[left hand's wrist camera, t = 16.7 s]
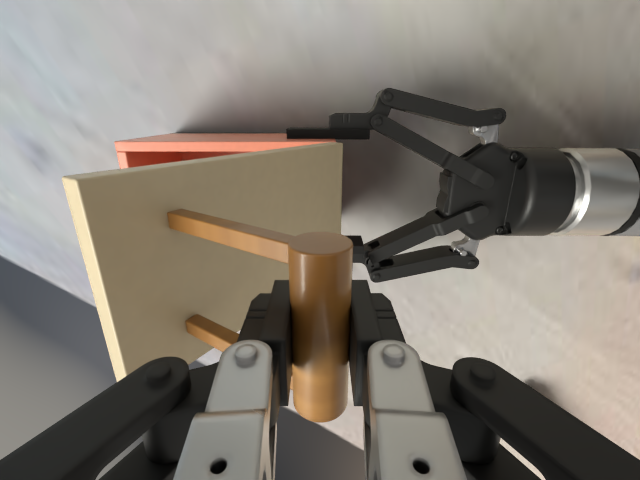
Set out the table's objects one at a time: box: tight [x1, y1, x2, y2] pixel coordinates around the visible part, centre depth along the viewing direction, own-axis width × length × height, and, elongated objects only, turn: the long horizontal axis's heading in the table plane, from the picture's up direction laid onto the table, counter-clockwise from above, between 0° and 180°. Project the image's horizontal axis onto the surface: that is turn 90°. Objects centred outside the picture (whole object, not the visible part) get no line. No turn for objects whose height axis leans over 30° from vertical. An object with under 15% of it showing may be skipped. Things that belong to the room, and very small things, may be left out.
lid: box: [62, 142, 353, 422], centre depth 17 cm, size 16×9×9 cm
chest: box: [115, 133, 336, 169], centre depth 31 cm, size 16×9×11 cm, turn 90°
